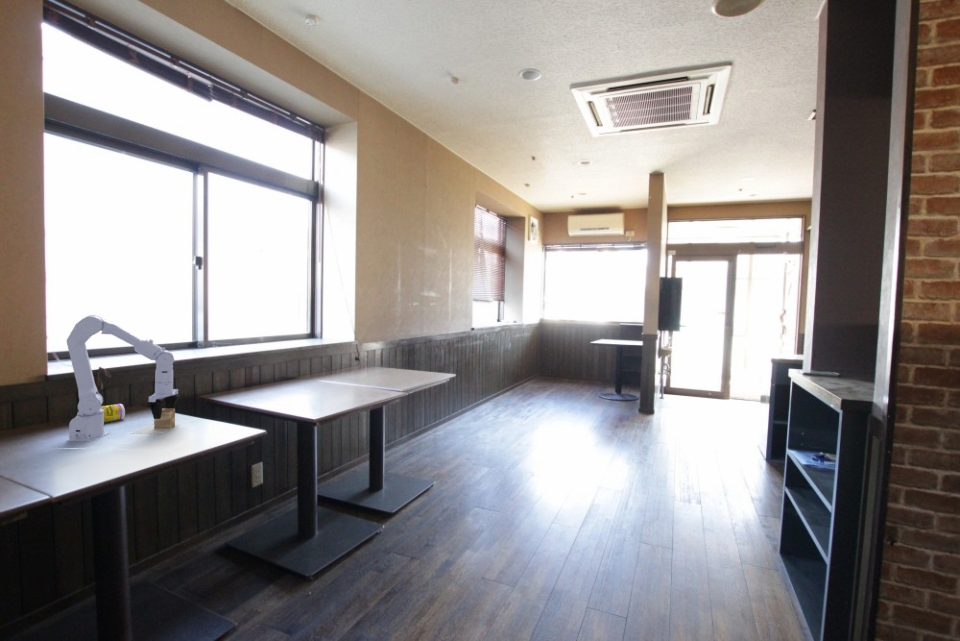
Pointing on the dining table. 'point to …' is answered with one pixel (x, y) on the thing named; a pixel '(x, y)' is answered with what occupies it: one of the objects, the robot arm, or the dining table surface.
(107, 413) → the supplement bottle
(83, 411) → the robot arm
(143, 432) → the grey mat
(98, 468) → the dining table surface
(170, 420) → the oak block
